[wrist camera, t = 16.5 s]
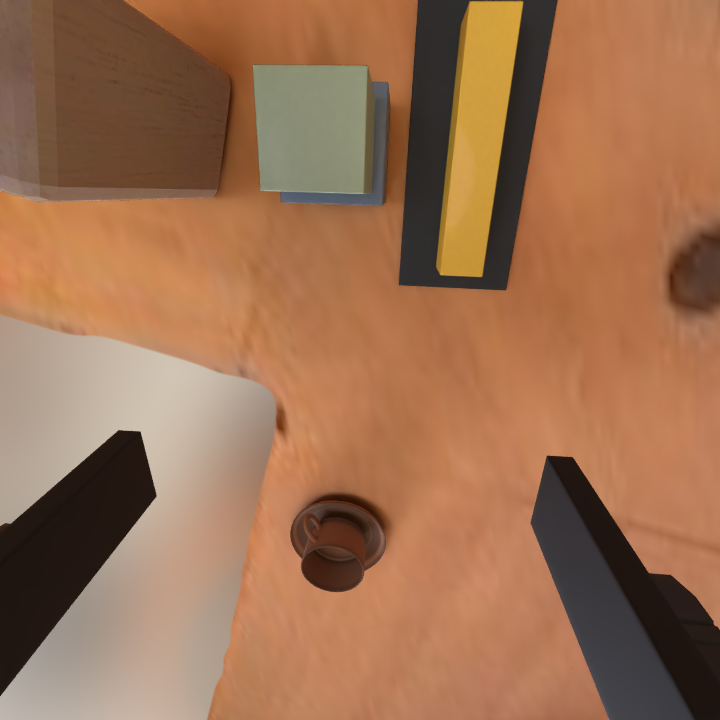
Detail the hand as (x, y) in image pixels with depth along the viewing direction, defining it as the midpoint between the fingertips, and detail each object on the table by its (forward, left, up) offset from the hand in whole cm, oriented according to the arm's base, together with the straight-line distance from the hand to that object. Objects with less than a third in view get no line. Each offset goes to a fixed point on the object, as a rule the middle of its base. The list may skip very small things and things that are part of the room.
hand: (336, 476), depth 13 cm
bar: (-11, +7, -27) cm, 30 cm away
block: (-13, -18, -28) cm, 36 cm away
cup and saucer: (+32, -3, -28) cm, 42 cm away
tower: (-11, -3, -28) cm, 30 cm away
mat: (-11, +7, -28) cm, 31 cm away
